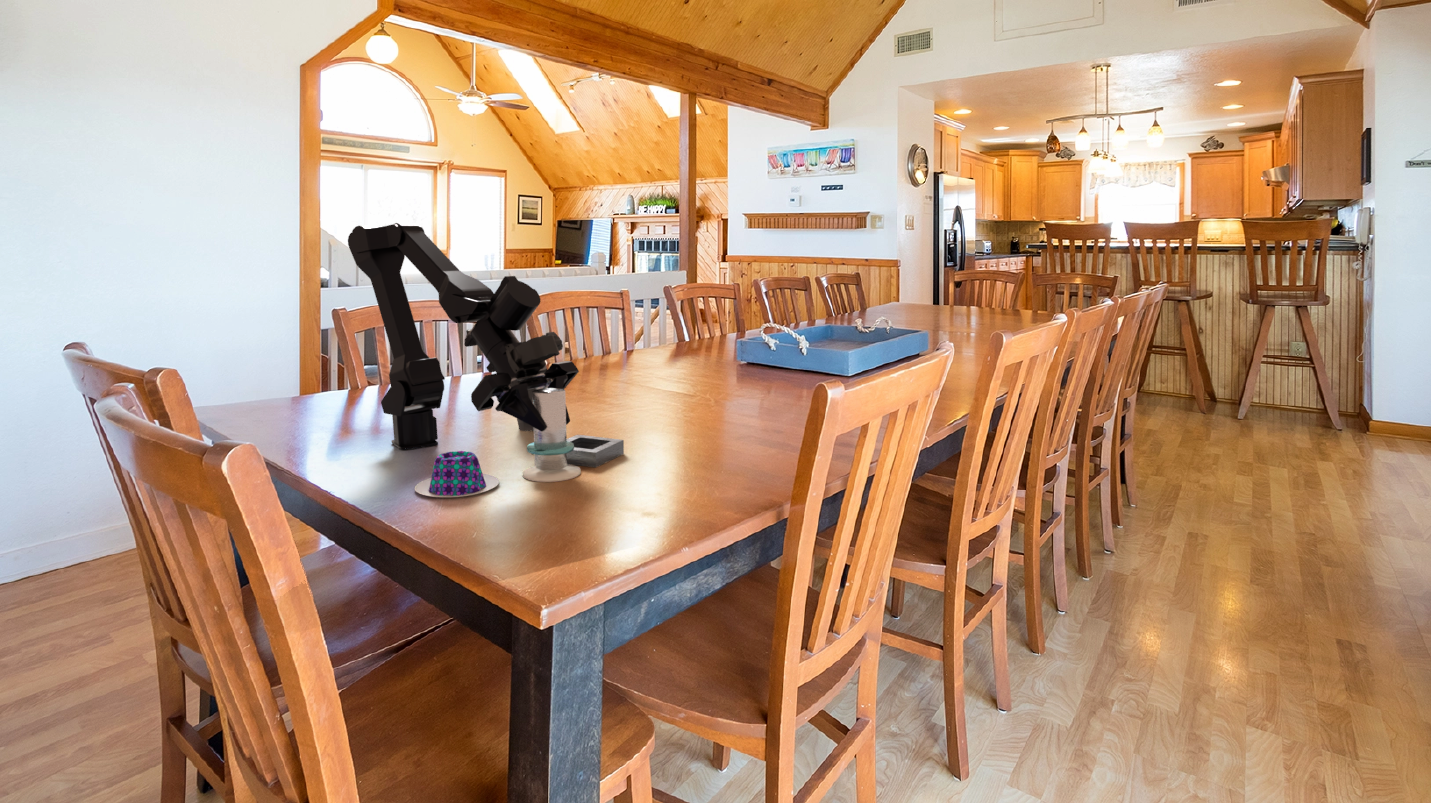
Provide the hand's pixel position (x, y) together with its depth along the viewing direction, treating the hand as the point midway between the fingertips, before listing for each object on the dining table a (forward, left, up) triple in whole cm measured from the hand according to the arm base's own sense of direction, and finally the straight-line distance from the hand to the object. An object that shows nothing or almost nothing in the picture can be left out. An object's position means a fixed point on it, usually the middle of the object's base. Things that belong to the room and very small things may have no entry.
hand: (556, 426), depth 122 cm
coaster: (-1, +1, -8) cm, 8 cm away
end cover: (-1, +1, -7) cm, 7 cm away
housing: (+8, +7, -8) cm, 13 cm away
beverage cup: (+9, +32, -8) cm, 34 cm away
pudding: (-15, +3, -8) cm, 17 cm away
